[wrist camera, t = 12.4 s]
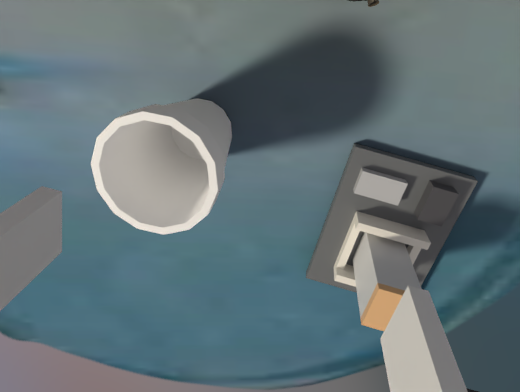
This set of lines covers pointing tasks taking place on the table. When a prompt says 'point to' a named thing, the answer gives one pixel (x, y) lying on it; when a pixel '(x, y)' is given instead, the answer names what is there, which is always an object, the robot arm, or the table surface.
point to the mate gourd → (369, 2)
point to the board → (388, 212)
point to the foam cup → (163, 164)
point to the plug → (381, 278)
